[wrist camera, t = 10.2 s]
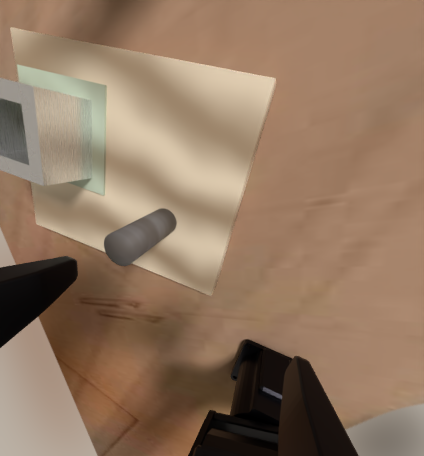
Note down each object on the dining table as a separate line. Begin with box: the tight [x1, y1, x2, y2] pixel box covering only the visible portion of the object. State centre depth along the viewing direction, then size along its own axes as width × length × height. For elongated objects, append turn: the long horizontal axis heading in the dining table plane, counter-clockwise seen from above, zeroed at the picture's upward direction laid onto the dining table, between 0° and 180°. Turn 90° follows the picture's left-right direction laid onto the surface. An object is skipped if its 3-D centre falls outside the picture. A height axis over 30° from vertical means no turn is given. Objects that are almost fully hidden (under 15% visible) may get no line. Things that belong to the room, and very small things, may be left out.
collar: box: [0, 77, 92, 186], centre depth 17 cm, size 6×6×4 cm
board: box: [10, 27, 276, 296], centre depth 17 cm, size 18×22×8 cm
